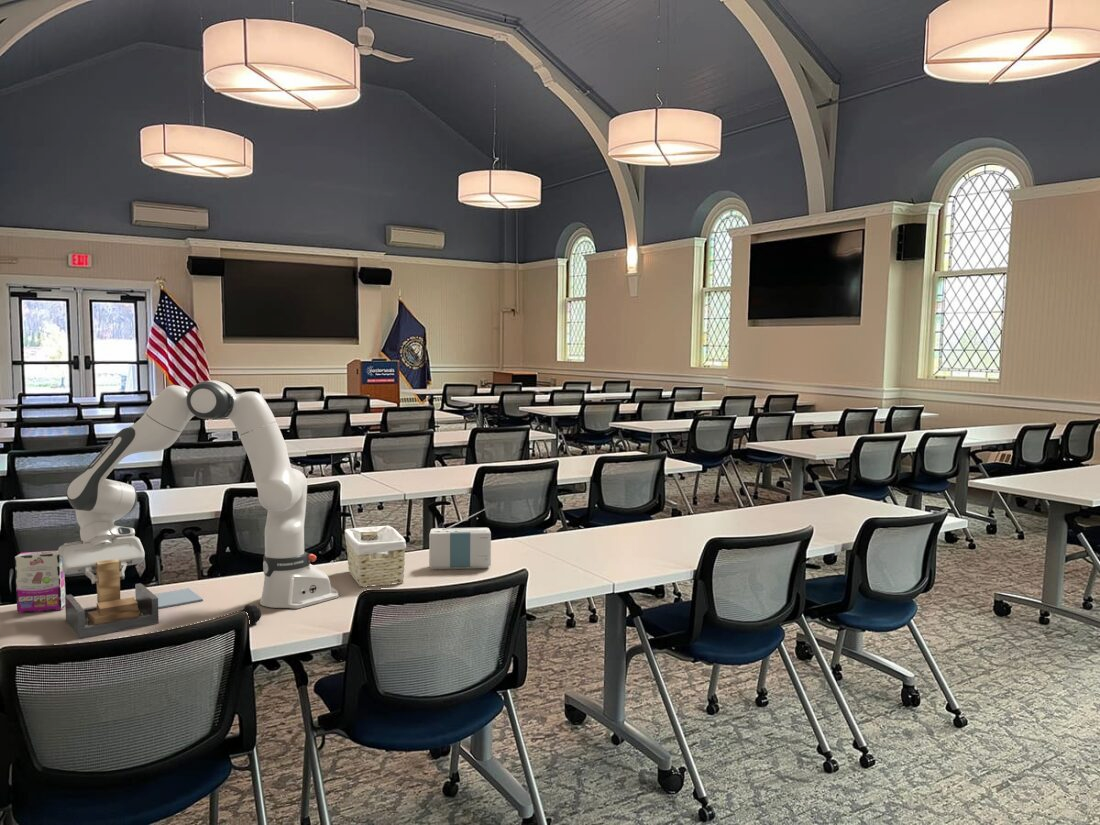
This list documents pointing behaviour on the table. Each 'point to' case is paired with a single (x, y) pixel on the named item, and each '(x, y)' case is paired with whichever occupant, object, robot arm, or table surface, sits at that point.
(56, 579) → the candy bar box
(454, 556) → the stereo radio cassette player
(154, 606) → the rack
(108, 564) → the tan wooden block
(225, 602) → the table surface
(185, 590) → the slate mat
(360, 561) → the storage basket
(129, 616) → the offcut stack
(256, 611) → the microphone
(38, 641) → the table surface
